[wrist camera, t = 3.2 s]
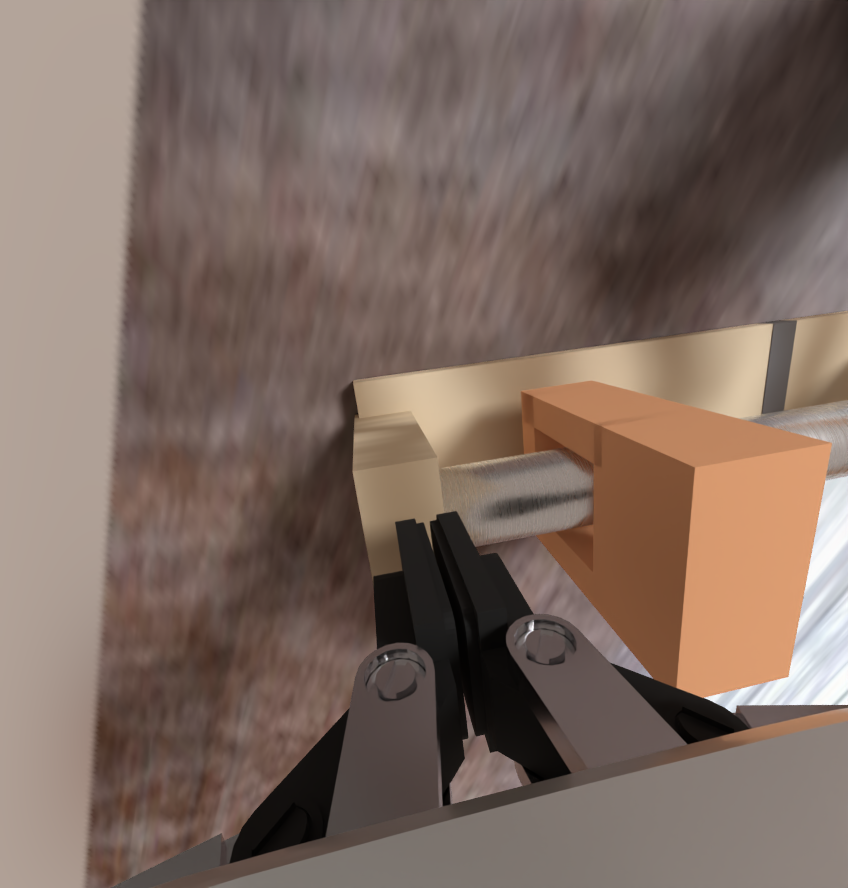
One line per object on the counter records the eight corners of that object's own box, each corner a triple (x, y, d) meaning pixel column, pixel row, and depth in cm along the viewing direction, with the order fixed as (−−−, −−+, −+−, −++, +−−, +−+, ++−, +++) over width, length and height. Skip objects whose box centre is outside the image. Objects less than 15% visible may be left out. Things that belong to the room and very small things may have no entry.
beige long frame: (377, 543, 20) (386, 658, 13) (348, 381, 18) (342, 418, 11) (864, 454, 23) (1076, 509, 16) (897, 303, 21) (1160, 296, 14)
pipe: (402, 535, 16) (413, 585, 13) (391, 457, 15) (399, 492, 12) (953, 434, 19) (1067, 457, 16) (972, 362, 18) (1099, 371, 15)
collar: (527, 525, 18) (675, 704, 10) (521, 391, 16) (695, 467, 8) (591, 513, 19) (788, 676, 10) (591, 380, 17) (832, 442, 8)
